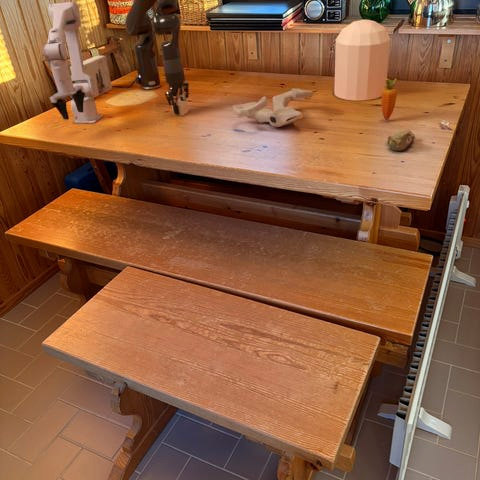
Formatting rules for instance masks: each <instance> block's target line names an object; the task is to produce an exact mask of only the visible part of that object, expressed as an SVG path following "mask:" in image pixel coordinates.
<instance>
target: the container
mask: <svg viewBox="0 0 480 480" xmlns="http://www.w3.org/2000/svg"><path fill="white" fill-rule="evenodd" d="M335 38H336V39H335V47H334V49H335V52H334V53H335V55H334V87H333V89H334V94H333V95H334V96H335V97H337V98H339V99H342V100H345V101H357V102H358V101H370V100H375V99H378V98H382V91H383V90H384V89H386V88H387V87H386V85H387V83H386V79H388V71H389V70H388V69H389V68H388V67H389V58H390V48H391V37H390V35H389V33H388V31H387V29H386V28H385V26H384V25H382V24H380V23H379V22H377V21H375V20H371V19H359V20H354V21H352V22H351V23H349V24H348V25H347V26H345V27H344V28H342V29H341V31H340V32H339V34H338V35H337V37H335Z"/></svg>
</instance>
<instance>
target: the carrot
mask: <svg viewBox="0 0 480 480" xmlns="http://www.w3.org/2000/svg"><path fill="white" fill-rule="evenodd" d="M397 81H398V78H395V79H394V80H393V82H391V79H390V78H387V79H386V89H384V90H383V91H382V96H381V97H380V98H381V100H380V101H381V102H380V104H381V112H382V113H381V114H382V117H383V119H384V120H385V121H386V122H388V121H389V119H390V118H391V117H392V114H393V112H394V109H395V106H396V101H397V96H398V95H397V94H398V91H397V89H395V88H394V86H395V85H396V83H397Z"/></svg>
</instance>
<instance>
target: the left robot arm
mask: <svg viewBox="0 0 480 480" xmlns="http://www.w3.org/2000/svg"><path fill="white" fill-rule="evenodd" d="M80 13H81V12H80V9H79V6H78V4H77V3H76V2H75V1H73V0H72V1H68V2H57V3H52V2H51V3H49V5H48V14H49V17H50V19H51V20H52V28H50V29H49V31H48V37H47V43H46V44H44V45H43V47H42V53H43V56H44V58H45V60H46V62H47V65H48V67H49V68H50V69H51V72H52V76H53V80H54V83H55V86H56V90H57V92H56V93H55V94H53V95H51V96H50V97H49V99H50V103H51V104H52V106H53V107H55V109H56V110H57V111H58V112H59V114H60V115H61V117H62V118H63V120H65V121H66V120H69V119H70V117H69V112H68V108H67V101H64V100H63V99H66V98H68V97H70V98H71V99H72V100H71V102H70V109H71V112H72V115H73V119H74V121H73V122H74V123H75V124H93V123H96V122H97V121H99V120H100V119H102V118H103V116H104V115H103V114H99V112H98V108H97V104H96V101H95V98H96V97H95V95H96V87H95V84H94V80H93V78H92V77H91V76H89V75H88V74H86V73H85V70H84V64H83V61H84V60H83V59H84V58H83V53H82V48H81V42H80V37H79V28H80V27H81V26H82V19H81V14H80ZM66 44H67V45H66ZM67 51H68V54H67ZM68 56H69V61H70V66H71V67H72V73H73V74H71V71H70V68H69V66H68V62H67V58H68ZM79 81H87V82H79ZM75 82H77V83H75ZM94 97H95V98H94Z"/></svg>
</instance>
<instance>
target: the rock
mask: <svg viewBox="0 0 480 480" xmlns="http://www.w3.org/2000/svg"><path fill="white" fill-rule="evenodd" d="M415 139H416V135H415V134H414V132H412V131H411V130H408V129H407V130H404V131H398V132H396V133H394V134H393V135H392V134H391V135H389V136H388V137H387V143H388V145H387V146H388V147H389V149H391V150H392V151H395V152H404V151H406V150H407V148H409V145H410V144H411V143H412V142H413V141H414V140H415Z"/></svg>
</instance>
